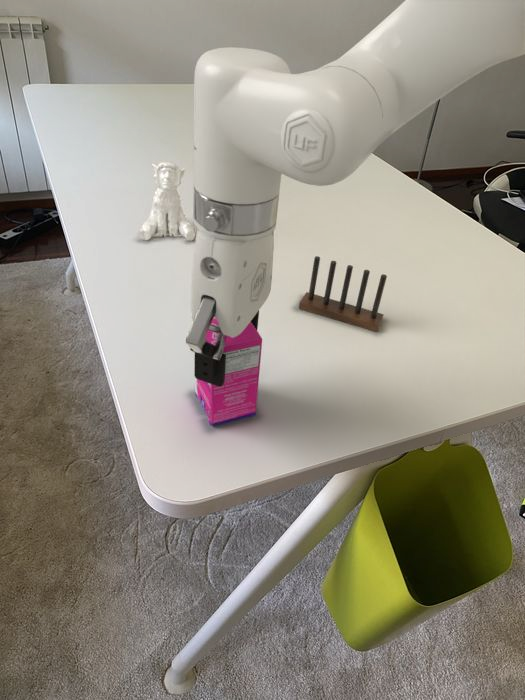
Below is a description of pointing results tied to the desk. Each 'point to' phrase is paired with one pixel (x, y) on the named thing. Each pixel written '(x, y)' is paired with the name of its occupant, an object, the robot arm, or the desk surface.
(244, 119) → the robot arm
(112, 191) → the desk surface
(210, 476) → the desk surface
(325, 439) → the desk surface
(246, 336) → the supplement box
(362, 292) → the rack
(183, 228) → the white creature statuette
